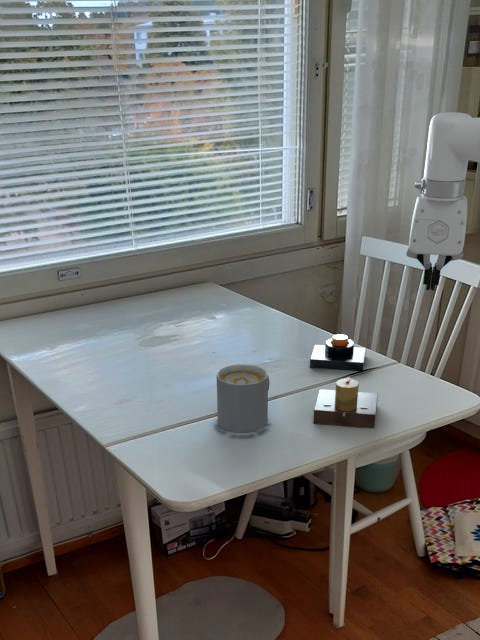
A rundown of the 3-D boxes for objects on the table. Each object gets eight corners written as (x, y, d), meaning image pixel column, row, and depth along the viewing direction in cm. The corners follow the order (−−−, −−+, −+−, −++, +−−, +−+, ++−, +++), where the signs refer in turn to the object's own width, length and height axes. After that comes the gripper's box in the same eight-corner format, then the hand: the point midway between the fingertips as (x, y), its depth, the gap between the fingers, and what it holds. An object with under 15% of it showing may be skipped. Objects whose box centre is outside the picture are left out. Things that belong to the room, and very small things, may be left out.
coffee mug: (241, 437, 150) (241, 389, 145) (207, 420, 156) (205, 374, 151) (289, 416, 158) (291, 369, 152) (255, 401, 164) (255, 355, 158)
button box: (365, 355, 184) (366, 339, 182) (362, 371, 176) (364, 355, 174) (314, 352, 186) (315, 336, 184) (309, 368, 178) (310, 351, 176)
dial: (355, 412, 152) (357, 387, 149) (333, 410, 153) (334, 385, 150) (357, 402, 156) (360, 377, 153) (335, 400, 157) (337, 376, 154)
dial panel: (376, 406, 161) (378, 392, 159) (373, 432, 152) (375, 418, 150) (318, 402, 163) (319, 388, 161) (312, 427, 154) (312, 413, 152)
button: (348, 341, 181) (348, 334, 180) (346, 347, 178) (347, 340, 177) (332, 340, 182) (333, 333, 181) (331, 346, 179) (331, 339, 178)
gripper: (401, 191, 142) (391, 292, 153) (486, 194, 140) (469, 296, 150) (402, 183, 148) (392, 280, 159) (483, 186, 146) (468, 284, 156)
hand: (430, 288), depth 155 cm, fingers closed
